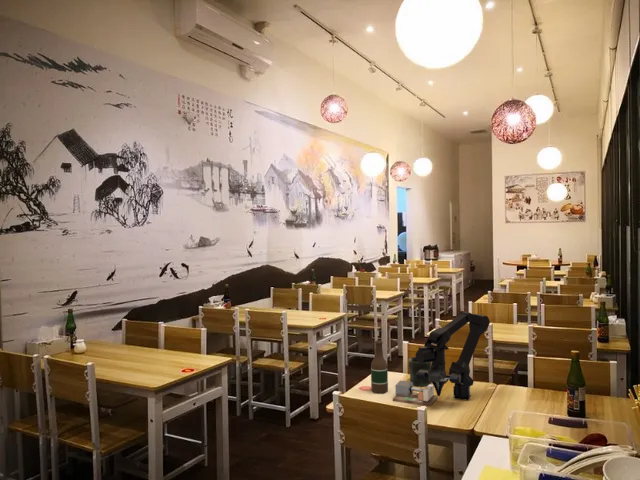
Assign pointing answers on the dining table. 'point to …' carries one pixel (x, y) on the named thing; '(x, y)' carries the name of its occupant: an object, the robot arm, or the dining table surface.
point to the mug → (414, 368)
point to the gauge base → (415, 399)
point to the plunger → (425, 392)
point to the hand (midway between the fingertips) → (438, 395)
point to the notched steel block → (404, 389)
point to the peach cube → (420, 396)
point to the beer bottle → (379, 371)
